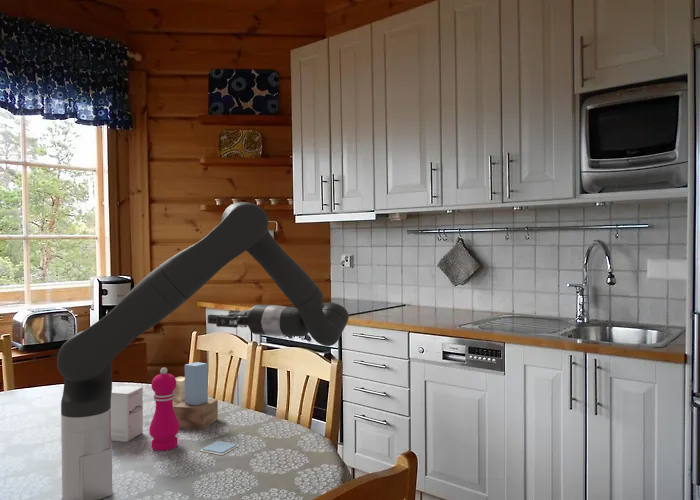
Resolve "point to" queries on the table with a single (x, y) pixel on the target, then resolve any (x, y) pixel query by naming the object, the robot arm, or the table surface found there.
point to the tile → (219, 448)
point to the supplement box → (126, 413)
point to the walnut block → (196, 414)
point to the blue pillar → (196, 383)
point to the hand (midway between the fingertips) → (219, 316)
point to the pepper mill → (164, 413)
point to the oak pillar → (179, 391)
